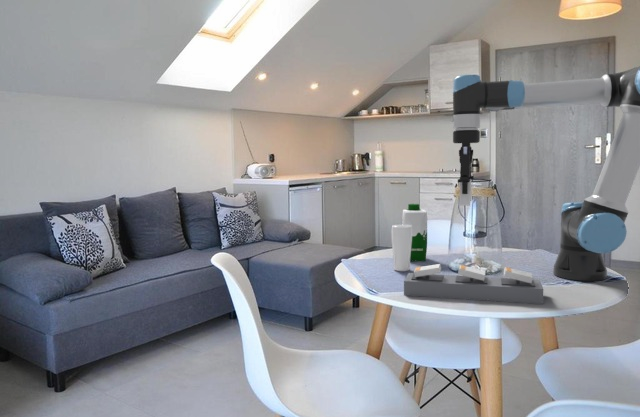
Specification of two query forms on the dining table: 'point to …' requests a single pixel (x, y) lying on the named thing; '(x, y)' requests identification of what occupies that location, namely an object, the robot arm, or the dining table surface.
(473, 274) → the rocker middle
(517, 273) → the rocker right
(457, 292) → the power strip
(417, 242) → the milk carton
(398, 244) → the drinking glass
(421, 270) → the rocker left
